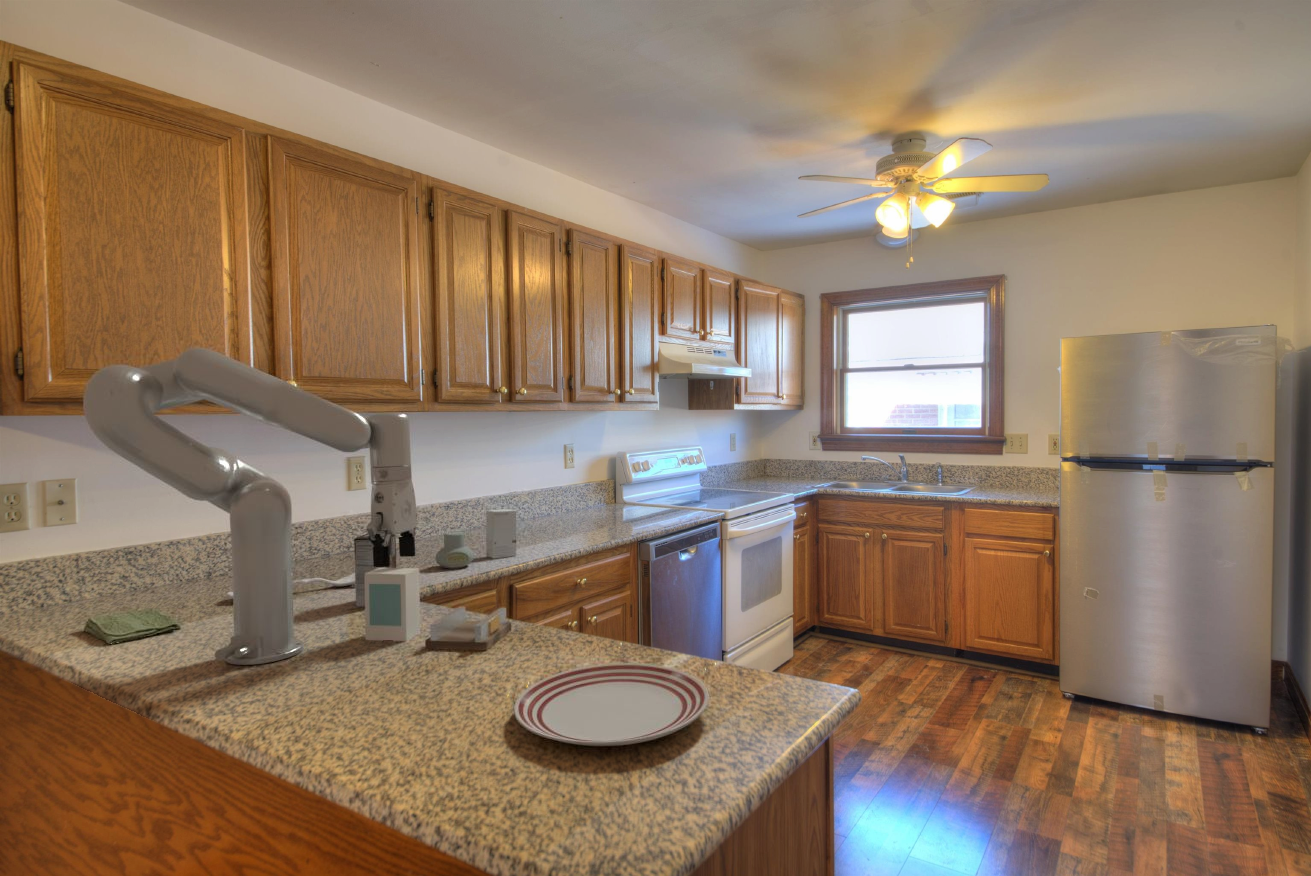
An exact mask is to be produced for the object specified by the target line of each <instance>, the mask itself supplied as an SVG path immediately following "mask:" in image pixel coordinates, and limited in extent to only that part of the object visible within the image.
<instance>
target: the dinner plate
mask: <svg viewBox="0 0 1311 876" xmlns="http://www.w3.org/2000/svg"><path fill="white" fill-rule="evenodd" d="M709 703H710V694H709V691H708V688H707V686H706V685H705V684H704V683H703V682H702V681H701V680H699V679H698V678H696V677H694V676H693V675H691V674H689V673H686V672H684V671H682V670H679V669H675V668H671V667H667V666H662V665H656V664H649V663H636V662H635V663H634V662H630V663H629V662H627V663H625V662H623V663H618V662H617V663H605V664H603V663H602V664H595V665H588V666H583V667H577V668H573V669H569V670H566V671H561V672H558V673H555V674H553V675H550V676H548V677H545V678H543V679H540V680H538V681H537V682H536V683H533V684H531V685H530V686H529V687H528V688H525V690H524V691H522V692H521V694H519V696H518V697H517V699H516V701H515V703H514V706H513V712H514V716H515V719H516V721H517V722H518V723H519V724H520V725H521V726H522V727H523V728H525V730H527V731H529V732H530V733H532V734H534V735H537V736H540V737H542V738H546V739H551V740H552V741H558V742H562V743H566V744H571V745H572V744H573V745H578V746H579V745H581V746H589V747H615V746H625V745H626V746H627V745H633V744H634V745H635V744H640V743H645V742H649V741H653V740H657V739H659V738H663V737H666V736H669V735H671V734H674V733H675V732H678V731H680V730H682V729H684V728H685V727H687V726H689V725H691V723H693V722H694V721H696V720H697V719H698V718H700V716H701V715H702V714H703V713H704V712H705V711H706V709H707V707H708V705H709Z"/></svg>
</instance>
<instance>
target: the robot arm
mask: <svg viewBox="0 0 1311 876" xmlns="http://www.w3.org/2000/svg"><path fill="white" fill-rule="evenodd" d="M87 381H88V382H87V384H86V387H85V389H84V392H83V403H82V404H83V413H84V417H85V420H86V422H87V425H88V426H89V428H90V430H91V431H92V432H93V434H94V435H95V436H96V437H97V439H98V440H99V441H100V442H101V443H102V444H103V445H104V446H106V447H107V448H108V449H110V451H112V452H114V453H115V454H117V455H118V456H119V457H121V458H123V459H124V460H126V461H128V462H130V463H131V464H132V465H134V466H136V467H138V468H139V469H141V470H143V471H144V472H146V473H147V474H149V475H150V476H153V477H154V478H156V479H157V480H159V481H161V482H163V483H165V484H167V485H168V486H169V487H172V488H174V489H175V490H177V492H180V493H181V494H182V495H184V496H185V497H188V498H189V499H192V500H194V501H200V502H208V503H209V504H211V505H213V506H215V507H217V508H219V509H220V510H223V511H224V512H226V513H228V514H229V528H230V538H231V540H230V542H231V567H232V569H231V570H232V592H233V599H232V600H233V603H232V604H233V607H232V609H233V635H231V637H230V642H229V644H228V645H227V646H223V647H221V648H218V649H217V650H216V651H215V653H214V657H215V659H216V660H218V661H223V660H224V661H225V662H226V663H228V664H231V665H235V666H236V665H237V666H238V665H239V666H243V665H244V666H249V665H250V666H251V665H252V666H253V665H262V664H268V663H274V662H278V661H282V660H284V659H288V658H291V657H294V656H295V655H298V654H299V653H301V651H303V650H304V641H303V640H301V639H298V638H295V630H294V625H295V624H294V588H293V587H294V585H293V581H294V580H293V579H294V578H293V575H294V574H293V552H292V551H293V550H292V549H293V548H292V547H293V546H292V545H293V544H292V543H293V542H292V523H293V522H292V521H293V519H292V517H293V516H292V515H293V514H292V513H293V511H292V510H293V509H292V498H291V495H290V493H289V491H288V489H287V488H286V487H285V486H284V485H283V484H281V482H278V481H277V480H275V479H274V478H272V477H270V476H269V475H267V474H266V473H263V472H262V471H260V470H259V469H258V468H255V467H254V466H252V465H250V464H248V463H247V462H245V461H243V460H242V459H241V458H239V457H237V456H235V455H234V454H232V453H231V452H228V451H227V450H224V449H222V448H218V447H215V446H207V445H205V444H203V443H202V442H199V441H197V440H196V439H194V438H192V437H191V436H189V435H187V434H186V433H184V432H182V431H181V430H180V429H178V428H176V427H175V426H174V425H171V424H169V423H168V422H166V421H164V420H162V419H161V418H160V417H158V416H157V415H156V414H154V413H157V412H161V411H164V410H169V409H173V408H176V407H181V406H184V405H188V404H193V403H196V402H199V401H202V400H205V401H207V402H211V403H214V404H215V405H219V406H220V407H224V408H225V409H228V410H231V411H233V412H236V413H238V414H241V415H244V416H246V417H248V418H251V419H253V420H256V421H258V422H261V423H263V424H266V425H268V426H272V427H276V428H281V429H284V430H287V431H290V432H293V433H295V434H298V435H300V436H303V437H305V438H308V439H311V440H313V441H315V442H317V443H320V444H323V445H325V446H327V447H330V448H333V449H335V450H336V451H340V452H341V453H355V452H358V451H360V450H362V449H363V450H364V449H369V461H370V463H369V464H370V465H369V466H370V484H371V485H372V486H371V495H370V496H371V497H370V521H369V523H368V524H367V525H366V531H367V534H368V535H369V540H370V541H371V546H372V547H373V565H374V567H389V566H390V565H391V564H390V546H387V544H388V541H389V538H390V535H391V533H392V534H395V535H400V536H398V548H399V549H398V551H399V552H398V553H399V557H406V558H408V557H415V556H416V540H415V538H416V528H417V526H418V513H417V511H418V510H417V502H416V494H415V488H414V483H413V481H412V480H413V479H412V478H413V477H412V475H413V474H412V460H411V459H412V456H411V455H412V454H411V434H410V433H411V432H410V431H411V430H410V419H409V416H408V415H407V414H406V413H403V412H379V413H373V414H361V413H358V412H356V411H352V410H351V409H348V408H346V407H343V406H342V405H341V406H340V405H339V404H337V403H333V402H332V401H330V400H327V399H324V398H322V397H321V396H320V397H319V396H317V395H315V394H313V393H310V392H308V391H305V390H304V389H302V388H300V387H297V386H295V385H294V384H292V383H290V382H287V381H286V380H284V379H282V378H278V377H276V376H274V375H271V374H269V373H267V372H264V371H262V370H259V369H257V368H256V367H252V366H251V365H248V364H245V363H243V362H241V361H238V360H237V359H234V358H232V357H230V356H227V355H224V354H222V353H220V352H218V351H215V350H214V349H210V348H206V347H198V346H197V347H195V346H194V347H191V348H187V349H186V350H183V351H182V352H180V354H179V355H178V356H177V357H176V358H174V359H169V360H166V361H163V362H162V361H161V362H158V363H154V364H150V365H145V366H144V365H143V366H139V367H135V366H130V365H126V364H113V365H109V366H106V367H103V368H101V369H99V370H97V371H96V372H94V373H93V375H92V376H91V377H90V378H89V379H88V380H87ZM381 536H384V538H382V537H381Z"/></svg>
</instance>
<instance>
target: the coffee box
mask: <svg viewBox="0 0 1311 876" xmlns="http://www.w3.org/2000/svg"><path fill="white" fill-rule="evenodd" d="M396 535H397V534H392V533H391V535H390V538H389V541H388V544H387V546H390V564H391V565H390V566H389V567H374V565H373V547H372V546H371V541H370V540H369V535H368V533H366V534H363V535H360V536H358V537H354V538H353V541H354V544H353V547H354V548H353V549H354V572H355V585H354V586H355V607H360V608H361V607H364V608H365V576H364V574H365V573H367V572H370V571H372V570H375V569H378V568H397V541H396ZM381 537H382V538H384V536H381Z"/></svg>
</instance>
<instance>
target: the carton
mask: <svg viewBox="0 0 1311 876" xmlns="http://www.w3.org/2000/svg"><path fill="white" fill-rule="evenodd" d="M364 576H365V607H364V613H365V615H364V617H365V618H364V619H365V621H364V622H365V625H364V626H365V627H364V628H365V641H383V640H393V641H392V642H408V641H409V639H410V640H411V639H413V638H414V637H416V636H418V635H419V634H421V609H420V608H421V606H420V603H421V602H420V601H421V600H420V568H418V567H417V568H413V567H411V568H409V567H404V568H403V567H396V568H378V569H375V570H372V571H370V572H367V573H365V574H364ZM418 633H419V634H418ZM417 634H418V635H417ZM415 635H416V636H415ZM413 636H414V637H413ZM412 637H413V638H412ZM407 640H408V641H407Z"/></svg>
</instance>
